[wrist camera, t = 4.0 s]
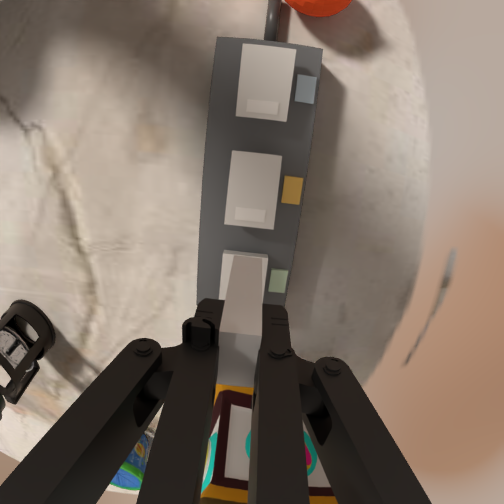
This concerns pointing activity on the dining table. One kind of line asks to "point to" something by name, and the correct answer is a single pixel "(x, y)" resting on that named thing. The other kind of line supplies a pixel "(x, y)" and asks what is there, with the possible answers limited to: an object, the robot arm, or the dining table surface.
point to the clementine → (319, 6)
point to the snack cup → (133, 467)
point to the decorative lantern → (245, 453)
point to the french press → (22, 348)
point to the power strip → (257, 141)
